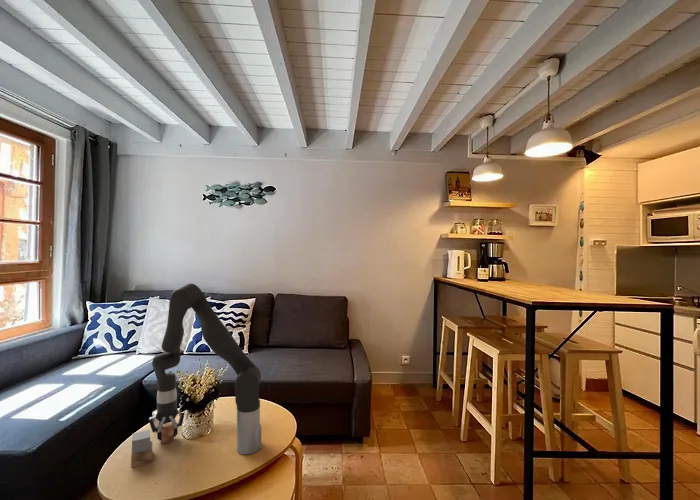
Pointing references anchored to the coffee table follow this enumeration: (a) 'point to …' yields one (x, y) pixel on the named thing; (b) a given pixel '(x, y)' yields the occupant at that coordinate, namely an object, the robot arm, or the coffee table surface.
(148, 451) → the tower base
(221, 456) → the coffee table surface
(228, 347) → the robot arm
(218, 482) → the coffee table surface
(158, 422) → the white cylinder
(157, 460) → the coffee table surface
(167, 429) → the brown rounded knob
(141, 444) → the tower top
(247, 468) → the coffee table surface
